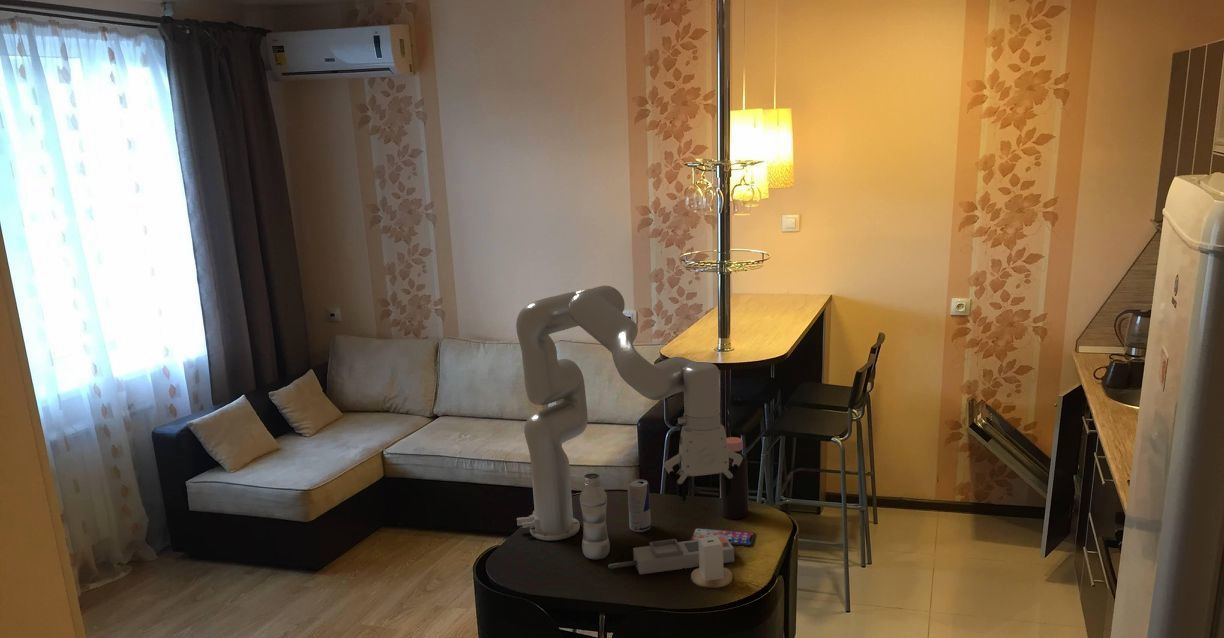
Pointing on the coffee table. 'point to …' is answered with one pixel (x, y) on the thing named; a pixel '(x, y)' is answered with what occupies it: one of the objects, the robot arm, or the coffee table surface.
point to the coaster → (716, 583)
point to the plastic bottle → (594, 518)
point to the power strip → (671, 555)
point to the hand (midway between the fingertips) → (704, 496)
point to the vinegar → (736, 485)
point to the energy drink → (639, 505)
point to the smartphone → (733, 536)
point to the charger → (711, 558)
